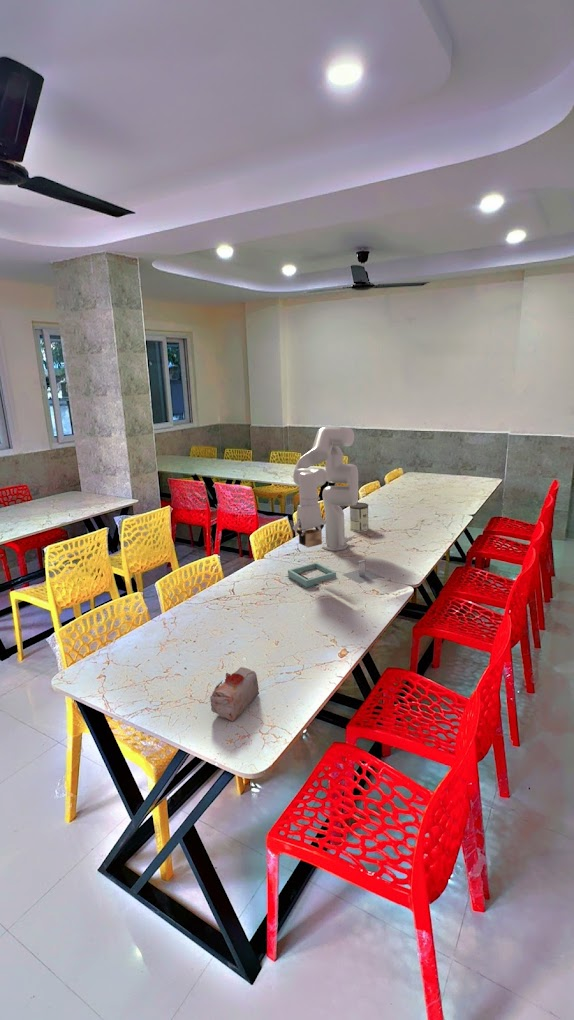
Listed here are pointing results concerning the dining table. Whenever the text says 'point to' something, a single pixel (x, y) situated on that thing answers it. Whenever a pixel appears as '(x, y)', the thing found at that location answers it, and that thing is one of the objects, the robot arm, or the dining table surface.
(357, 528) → the coffee can
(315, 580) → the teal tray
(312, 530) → the oak collar
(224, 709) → the food item
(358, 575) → the stake stand
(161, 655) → the dining table surface
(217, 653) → the dining table surface
